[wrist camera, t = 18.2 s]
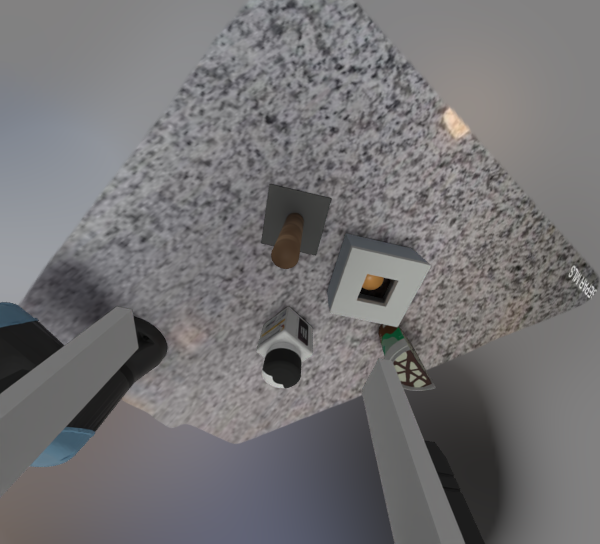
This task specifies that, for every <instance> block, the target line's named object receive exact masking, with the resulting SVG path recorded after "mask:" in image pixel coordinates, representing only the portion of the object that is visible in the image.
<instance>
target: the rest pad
mask: <svg viewBox="0 0 600 544" xmlns="http://www.w3.org/2000/svg"><path fill="white" fill-rule="evenodd" d="M330 202H331V198H327V197H323V196H319V195H315V194H310V193H306V192H302V191H298V190H293V189H289V188H285V187H281V186H277V185H272V184H270V185H269V192H268V199H267V206H266V213H265V220H264V227H263V234H262V241H261V243H262V244H267V245H271V246H274V245H275V243H276V241H277V239H278V236H279V234H280V232H281V230H282V227H283V225H284V223H285V221H286V218H287V216H288V215H289V214H291V213H298V214H300V215H301V216H302V217H303V219H304V225H303V232H302V240H301V247H300V252H303V253H307V254H312V255H316V254H317V250H318V246H319V243H320V239H321V235H322V232H323V228H324V224H325V221H326V217H327V213H328V210H329V206H330Z"/></svg>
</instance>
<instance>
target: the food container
mask: <svg viewBox="0 0 600 544" xmlns="http://www.w3.org/2000/svg"><path fill="white" fill-rule="evenodd" d="M379 337H380V341H381V345H382V348H383V352H384V359H385V360H390V361H392V362H393V364H394V367H395V369H396V372H397V374H398V377H399V379H400V382H401V384H402V387H403V388H404V389H408V390H414V391H423V390H430V389H433V388H435V386H434V384H433V382H432V380H431V379H430V377H429V375H428V373H427V371H426V369H425V368H424V366H423V364H422V362H421V360H420V359H419V357H418V355H417V353H416V351H415V349H414V348H413V346H412V344H411V342H410V341H409V339H408V338H407V336H406V335H405V333H404V331H403V330H402V328H401V327H400V325H399V326H398V327H394V326H389V325H384V324H381V326H380V327H379Z"/></svg>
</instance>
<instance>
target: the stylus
mask: <svg viewBox="0 0 600 544" xmlns="http://www.w3.org/2000/svg"><path fill="white" fill-rule="evenodd" d="M303 225H304V219H303V217H302V216H301V215H300V214H298V213H291V214H289V215H288V216H287V218H286V221H285V223H284V225H283V227H282V230H281V232H280V234H279V236H278V239H277V241H276V243H275V245H274V248H273V250H272V253H271V258H272V261H273V262H274V264H275V265H276V266H278V267H280V268H283V269H289V268H292V267H294V266H295V265H296V264H297V263H298V260H299V254H300V247H301V240H302V232H303Z"/></svg>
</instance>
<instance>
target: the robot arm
mask: <svg viewBox="0 0 600 544" xmlns="http://www.w3.org/2000/svg"><path fill="white" fill-rule="evenodd" d="M166 353H167V344H166V341H165V339H164V337H163V336H162V334H161V333H160V332H159V331H158V330H157V329H156V328H155V327H153V326H152V325H151V324H149V323H147V322H146V321H144V320H141V319H139V318H136V317H133V311H132V309H127V308H122V307H116V308H114V309H113V310H112V311H110V312H109V313H108V314H106V315H105V316H104V317H102V318H101V319H100V320H98V321H97V322H96V323H94V324H93V325H92V326H90V327H89V328H88V329H86V330H85V331H83V332H82V333H81V334H79V335H78V336H77V337H75V338H74V339H73V340H71V341H70V342H69V343H67V344H66V345H65V346H64V345H63V344H62V343H61V342H60V341H59V340H58V339H57V338H56V337H55V336H54V335H53V334H51V333H50V332H49V331H48V330H47V329H46V328H45V327H44V326H43V325H42V324H41V323H40V322H39V320H38V319H37V318H33V317H32V316H31V315H29V314H28V313H27V312H26V311H25V310H23V309H22V308H21V307H20V306H18V305H16V304H13V303H7V302H1V303H0V498H1V496H2V495H3V494H4V493H5V492H6V491H7V490H8V489H9V488H10V487H11V486H12V485H13V483H14V482H15V481H16V480H17V479H18V478H19V477H20V476H21V475H22V474H23V473H24V472H25V471H26V469H27V468H28V467H29V466H33V467H49V466H56V465H59V464H62V463H64V462H67V461H68V460H70V459H71V458H72V457H74V456H75V455H76V453H77V452H78V451H79V450H80V449H81V448H82V447H83V446H84V445H85V444H86V442H87V441H88V440H89V438H91V437H92V436H93V435H94V434H95V431H96V430H97V429H98V428H99V427H100V425H101V424H102V423H103V421H104V420H105V419H106V418H107V416H108V415H109V414H110V413H111V411H112V410H113V409H114V408H115V406H116V405H117V404H118V402H119V401H120V400H121V399H122V397H123V396H124V395H125V394H126V392H127V391H128V390H129V388H130V387H131V386H132V385H133V384H134V382H136V381H137V380H138V379H140V378H141V377H142V376H144V375H145V374H147V373H148V372H149V371H150V370H152V369H153V368H155V367H156V366H157V365H158V364H159V363H160V362H161V361H162V359H163V358H164V357H165V355H166ZM362 395H363V399H364V404H365V409H366V413H367V418H368V423H369V427H370V431H371V436H372V441H373V446H374V450H375V455H376V460H377V464H378V469H379V473H380V478H381V482H382V487H383V492H384V497H385V501H386V506H387V510H388V515H389V520H390V524H391V529H392V533H393V538H394V543H395V544H485V543H484V541H483V539H482V537H481V535H480V532H479V530H478V528H477V525H476V523H475V521H474V520H473V517H472V514H471V512H470V510H469V508H468V506H467V503H466V501H465V499H464V497H463V494H462V493H461V492H460V488H459V486H458V483H457V481H456V479H455V478H454V476H453V472H452V470H451V468H450V466H449V463H448V461H447V459H446V457H445V456H444V454H443V453H442V452H441V450H440V449H439V447H438V446H437V445H436V443H435V442H430V441H425V440H423V437H422V434H421V432H420V429H419V427H418V424H417V422H416V419H415V417H414V414H413V412H412V409H411V407H410V404H409V402H408V400H407V397H406V394H405V392H404V390H403V387H402V384H401V382H400V379H399V377H398V374H397V372H396V369H395V367H394V364H393V362H392V361H390V360H385V359H380V358H379V359H378V361H377V362H376V364H375V366H374V368H373V370H372V372H371V374H370V375H369V377H368V379H367V381H366V383H365V385H364V387H363V388H362Z"/></svg>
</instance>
